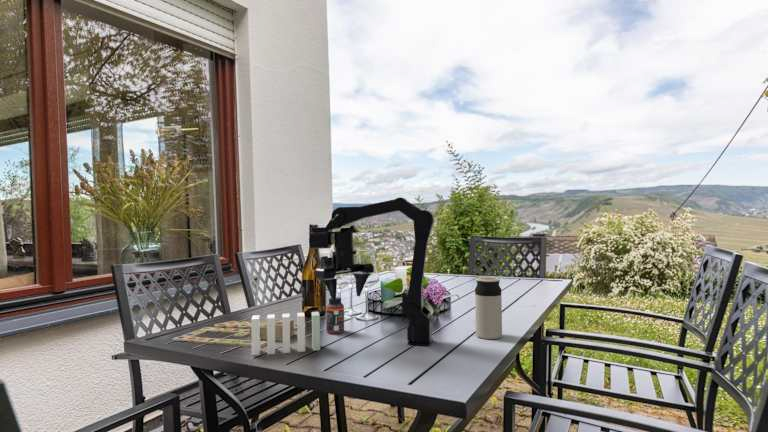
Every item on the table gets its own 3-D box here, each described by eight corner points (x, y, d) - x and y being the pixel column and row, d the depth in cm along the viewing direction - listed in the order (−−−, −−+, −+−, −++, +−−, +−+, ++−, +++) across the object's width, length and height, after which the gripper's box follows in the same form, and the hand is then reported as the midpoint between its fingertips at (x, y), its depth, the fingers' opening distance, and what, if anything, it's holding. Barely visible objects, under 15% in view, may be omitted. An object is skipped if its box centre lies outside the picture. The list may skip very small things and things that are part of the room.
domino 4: (304, 346, 131) (304, 312, 131) (305, 351, 126) (304, 316, 126) (297, 346, 131) (297, 312, 131) (298, 351, 126) (297, 316, 126)
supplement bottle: (341, 334, 144) (340, 299, 144) (323, 333, 145) (323, 299, 145) (346, 329, 150) (346, 296, 150) (329, 329, 151) (329, 295, 151)
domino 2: (275, 348, 130) (274, 314, 130) (274, 353, 125) (274, 318, 125) (268, 349, 129) (267, 314, 129) (267, 354, 124) (266, 318, 124)
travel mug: (497, 341, 133) (496, 281, 133) (471, 337, 138) (471, 279, 138) (505, 335, 140) (504, 277, 140) (481, 331, 144) (480, 276, 144)
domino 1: (260, 349, 129) (259, 315, 129) (259, 354, 124) (258, 319, 124) (253, 350, 128) (252, 315, 128) (251, 355, 123) (251, 319, 123)
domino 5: (319, 345, 132) (318, 311, 132) (320, 350, 127) (319, 315, 127) (312, 345, 132) (311, 312, 132) (313, 350, 127) (312, 315, 127)
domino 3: (290, 347, 130) (289, 313, 130) (290, 352, 126) (289, 317, 126) (283, 348, 130) (282, 313, 130) (282, 353, 125) (282, 317, 125)
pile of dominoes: (309, 327, 156) (309, 311, 156) (269, 350, 130) (268, 331, 130) (224, 322, 166) (224, 307, 166) (170, 342, 140) (170, 325, 140)
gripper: (353, 245, 150) (355, 291, 150) (304, 249, 138) (306, 300, 138) (373, 245, 141) (376, 295, 141) (323, 250, 129) (326, 304, 129)
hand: (346, 298), depth 137 cm, fingers open, 9 cm apart
